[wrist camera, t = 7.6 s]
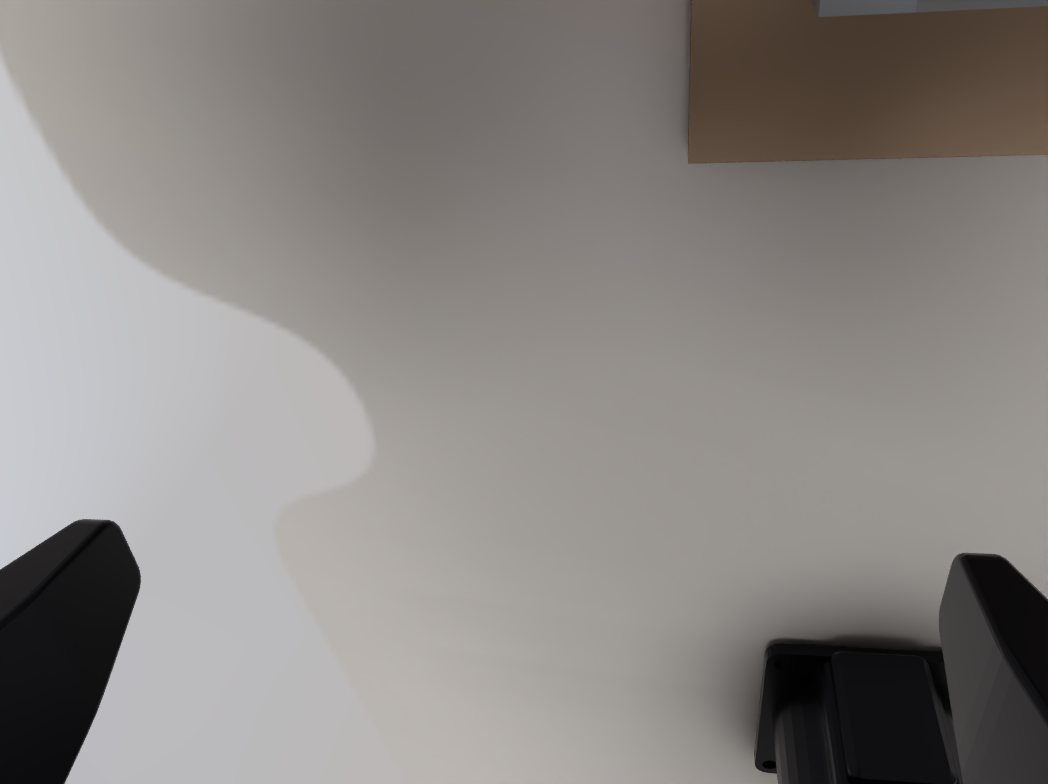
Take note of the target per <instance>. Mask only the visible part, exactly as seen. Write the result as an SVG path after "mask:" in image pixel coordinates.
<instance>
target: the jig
mask: <svg viewBox="0 0 1048 784" xmlns="http://www.w3.org/2000/svg"><path fill="white" fill-rule="evenodd" d="M1009 155H1048V0H691V41H690V86H689V132H688V163H728V162H768V161H809V160H849V159H889V158H929V157H969V156H1009Z"/></svg>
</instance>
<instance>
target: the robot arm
mask: <svg viewBox="0 0 1048 784" xmlns="http://www.w3.org/2000/svg"><path fill="white" fill-rule="evenodd" d="M140 577H141V576H140V570H139V567H138V565H137V563H136V560H135V558H134V556H133V554H132V552H131V550H130V547H129V546H128V543H127V541H126V539H125V537H124V535H123V532H122V530H121V528H120V527H119V526H118V525H117V524H116V523H115V522H113V521H110V520H91V519H82V520H78V521H75V522H73V523H71V524H70V525H68V526H67V527H65V528H64V529H62V530H61V531H59V532H58V533H56V534H55V535H53V536H52V537H50V538H48V539H47V540H45V541H44V542H42V543H41V544H39V545H38V546H36V547H35V548H33V549H31V550H30V551H28V552H27V553H25V554H24V555H22V556H21V557H19V558H18V559H16V560H14V561H13V562H11V563H10V564H8V565H7V566H5V567H4V568H2V569H1V570H0V784H64V783H65V781H66V779H67V777H68V775H69V772H70V771H71V768H72V766H73V764H74V762H75V759H76V757H77V755H78V753H79V751H80V749H81V747H82V745H83V742H84V740H85V738H86V736H87V734H88V732H89V729H90V727H91V725H92V722H93V720H94V718H95V715H96V713H97V710H98V708H99V705H100V703H101V700H102V697H103V695H104V692H105V689H106V686H107V683H108V681H109V678H110V674H111V672H112V669H113V666H114V663H115V660H116V657H117V654H118V651H119V648H120V645H121V643H122V640H123V637H124V634H125V631H126V628H127V625H128V622H129V619H130V616H131V613H132V610H133V608H134V605H135V602H136V599H137V596H138V593H139V589H140V583H141V578H140ZM939 631H940V638H941V644H942V651H943V652H930V651H911V650H893V649H874V648H856V647H837V646H818V645H800V644H775V645H772V646H770V647H769V648H768V649H767V650H766V652H765V659H764V668H763V677H762V686H761V696H760V705H759V714H758V724H757V733H756V742H755V751H754V756H755V766H756V768H757V769H758V770H760V771H762V772H767V773H777V777H778V784H1048V599H1047V598H1046V597H1045V596H1044V595H1043V594H1042V593H1041V592H1040V591H1039V590H1038V589H1037V588H1036V587H1035V586H1034V585H1033V584H1032V583H1031V582H1029V581H1028V580H1027V579H1026V578H1025V577H1024V576H1023V575H1022V574H1021V573H1020V572H1019V571H1018V570H1017V569H1016V568H1015V567H1014V566H1013V565H1012V564H1011V563H1010V562H1009V561H1008V560H1006V559H1005V558H1003V557H1002V556H1000V555H996V554H977V553H961V554H958V555H957V556H956V557H955V558H954V560H953V562H952V565H951V568H950V572H949V576H948V579H947V583H946V587H945V591H944V594H943V598H942V602H941V605H940V611H939Z"/></svg>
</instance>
